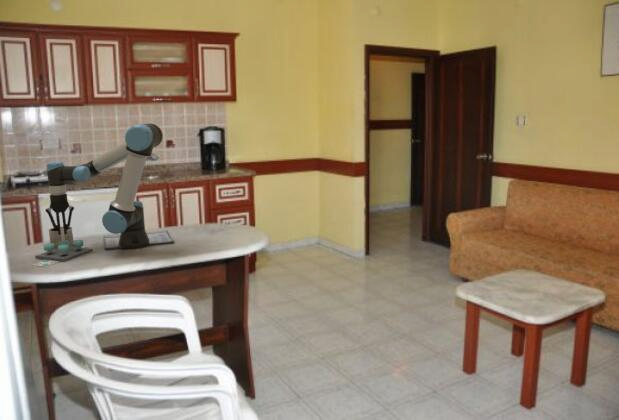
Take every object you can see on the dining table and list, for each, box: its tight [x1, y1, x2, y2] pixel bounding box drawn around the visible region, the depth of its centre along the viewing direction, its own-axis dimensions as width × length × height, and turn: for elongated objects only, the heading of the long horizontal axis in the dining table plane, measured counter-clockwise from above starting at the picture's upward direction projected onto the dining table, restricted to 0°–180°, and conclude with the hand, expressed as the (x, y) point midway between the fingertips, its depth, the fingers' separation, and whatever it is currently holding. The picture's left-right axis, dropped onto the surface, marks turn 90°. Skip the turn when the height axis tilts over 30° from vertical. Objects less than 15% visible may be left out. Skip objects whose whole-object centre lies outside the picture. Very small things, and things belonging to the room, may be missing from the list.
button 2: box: [58, 244, 69, 254], centre depth 245 cm, size 5×5×4 cm
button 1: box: [72, 239, 84, 249], centre depth 253 cm, size 5×5×4 cm
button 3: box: [59, 240, 70, 246], centre depth 257 cm, size 5×5×4 cm
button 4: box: [43, 242, 55, 253], centre depth 248 cm, size 5×5×4 cm
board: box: [34, 246, 94, 263], centre depth 251 cm, size 18×18×2 cm
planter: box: [48, 226, 74, 249], centre depth 266 cm, size 11×11×10 cm
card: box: [31, 260, 60, 268], centre depth 238 cm, size 8×8×1 cm
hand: (63, 240), depth 256 cm, fingers closed
